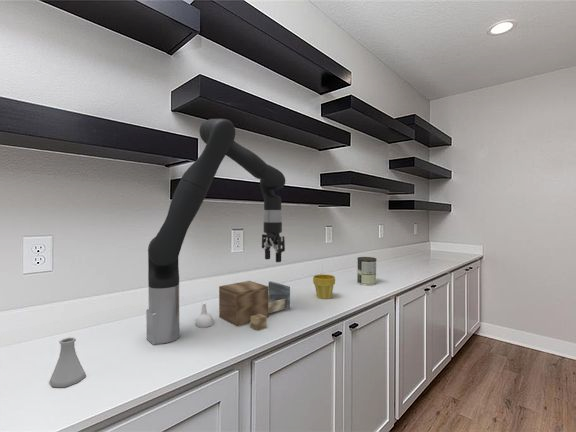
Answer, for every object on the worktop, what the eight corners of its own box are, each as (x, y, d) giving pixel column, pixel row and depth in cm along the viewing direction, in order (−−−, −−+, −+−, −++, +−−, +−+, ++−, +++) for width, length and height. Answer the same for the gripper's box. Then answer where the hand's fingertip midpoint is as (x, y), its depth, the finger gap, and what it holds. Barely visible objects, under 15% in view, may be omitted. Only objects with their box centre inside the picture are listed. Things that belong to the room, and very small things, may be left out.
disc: (280, 306, 130) (280, 301, 130) (267, 309, 126) (267, 304, 126) (270, 302, 135) (270, 297, 135) (258, 305, 131) (258, 300, 131)
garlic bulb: (215, 323, 117) (216, 301, 118) (210, 328, 111) (210, 305, 112) (198, 323, 118) (199, 301, 118) (192, 327, 111) (193, 304, 112)
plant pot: (308, 296, 151) (308, 276, 150) (323, 292, 157) (323, 273, 157) (324, 301, 143) (324, 280, 143) (339, 297, 150) (339, 276, 149)
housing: (237, 326, 113) (237, 293, 112) (219, 317, 122) (219, 286, 122) (268, 317, 122) (268, 286, 122) (249, 309, 131) (249, 280, 131)
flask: (42, 384, 76) (41, 343, 75) (72, 370, 83) (72, 332, 82) (63, 391, 73) (62, 348, 73) (92, 375, 80) (91, 336, 80)
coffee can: (353, 283, 177) (353, 258, 177) (364, 280, 184) (364, 256, 184) (369, 286, 170) (369, 260, 169) (379, 283, 177) (380, 258, 176)
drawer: (262, 316, 120) (262, 292, 120) (243, 308, 130) (243, 286, 129) (292, 308, 131) (292, 286, 130) (272, 301, 140) (272, 280, 140)
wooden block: (257, 330, 109) (257, 319, 109) (250, 327, 112) (250, 316, 112) (266, 327, 112) (266, 316, 112) (259, 324, 115) (259, 313, 115)
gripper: (290, 221, 126) (290, 262, 127) (271, 220, 138) (271, 257, 138) (274, 222, 122) (274, 264, 122) (256, 220, 134) (256, 259, 134)
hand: (272, 260), depth 130 cm, fingers open, 8 cm apart
